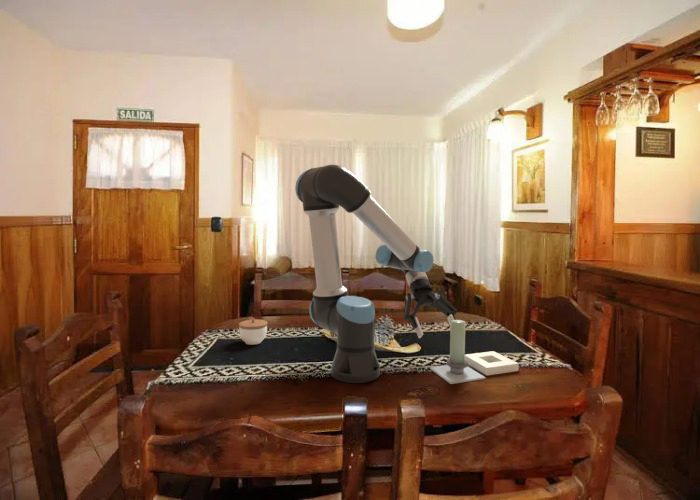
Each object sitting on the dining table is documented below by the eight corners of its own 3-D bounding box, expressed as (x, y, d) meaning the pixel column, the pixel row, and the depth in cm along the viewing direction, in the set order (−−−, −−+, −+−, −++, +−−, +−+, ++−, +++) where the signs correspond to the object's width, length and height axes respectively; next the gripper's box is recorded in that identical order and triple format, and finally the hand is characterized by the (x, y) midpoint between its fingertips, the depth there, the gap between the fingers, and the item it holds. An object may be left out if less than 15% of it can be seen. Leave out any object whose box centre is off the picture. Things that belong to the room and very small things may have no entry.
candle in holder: (453, 377, 117) (454, 325, 115) (442, 369, 123) (443, 320, 121) (471, 374, 119) (473, 323, 117) (459, 367, 125) (460, 318, 123)
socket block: (486, 375, 119) (486, 367, 119) (463, 362, 131) (463, 354, 130) (518, 371, 123) (518, 363, 123) (493, 358, 134) (493, 351, 134)
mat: (450, 384, 113) (450, 382, 113) (430, 369, 124) (430, 367, 124) (485, 379, 117) (485, 377, 117) (462, 364, 128) (462, 363, 128)
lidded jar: (271, 338, 156) (270, 315, 155) (262, 347, 145) (262, 322, 144) (245, 337, 157) (244, 314, 156) (234, 346, 146) (234, 322, 145)
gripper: (444, 287, 150) (466, 336, 137) (384, 290, 142) (401, 343, 129) (452, 275, 144) (475, 325, 131) (390, 278, 136) (409, 332, 123)
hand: (439, 334), depth 130 cm, fingers open, 13 cm apart
